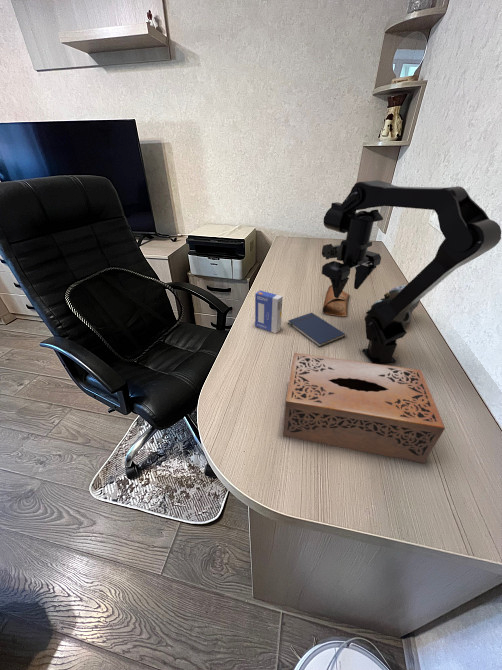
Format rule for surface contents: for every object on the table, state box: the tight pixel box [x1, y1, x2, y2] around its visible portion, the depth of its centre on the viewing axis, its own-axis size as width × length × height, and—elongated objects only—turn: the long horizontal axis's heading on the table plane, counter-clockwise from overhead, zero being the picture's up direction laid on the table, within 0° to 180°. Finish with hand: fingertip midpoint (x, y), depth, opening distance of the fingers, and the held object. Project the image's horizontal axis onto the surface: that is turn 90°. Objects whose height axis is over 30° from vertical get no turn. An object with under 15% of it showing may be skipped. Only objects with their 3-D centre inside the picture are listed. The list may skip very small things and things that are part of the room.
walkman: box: [254, 289, 284, 334], centre depth 85 cm, size 8×3×12 cm, turn 58°
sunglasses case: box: [322, 284, 350, 318], centre depth 100 cm, size 18×7×7 cm
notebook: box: [287, 312, 346, 348], centre depth 87 cm, size 15×10×1 cm
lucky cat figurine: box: [366, 284, 421, 328], centre depth 89 cm, size 15×12×14 cm
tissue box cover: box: [282, 352, 446, 464], centre depth 56 cm, size 26×14×10 cm, turn 77°
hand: (346, 293), depth 79 cm, fingers open, 9 cm apart
